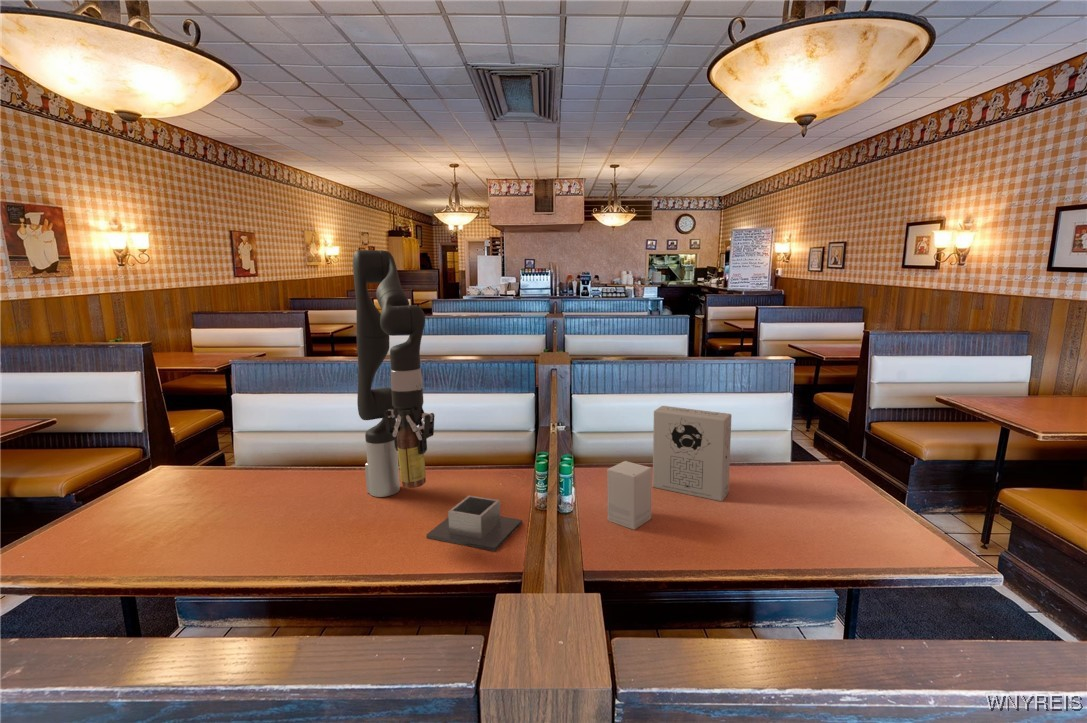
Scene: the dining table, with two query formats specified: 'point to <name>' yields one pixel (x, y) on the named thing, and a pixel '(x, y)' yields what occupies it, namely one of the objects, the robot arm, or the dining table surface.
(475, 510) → the condiment holder
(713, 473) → the cereal box
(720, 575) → the dining table surface
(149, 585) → the dining table surface
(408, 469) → the sauce bottle
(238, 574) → the dining table surface
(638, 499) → the supplement box
